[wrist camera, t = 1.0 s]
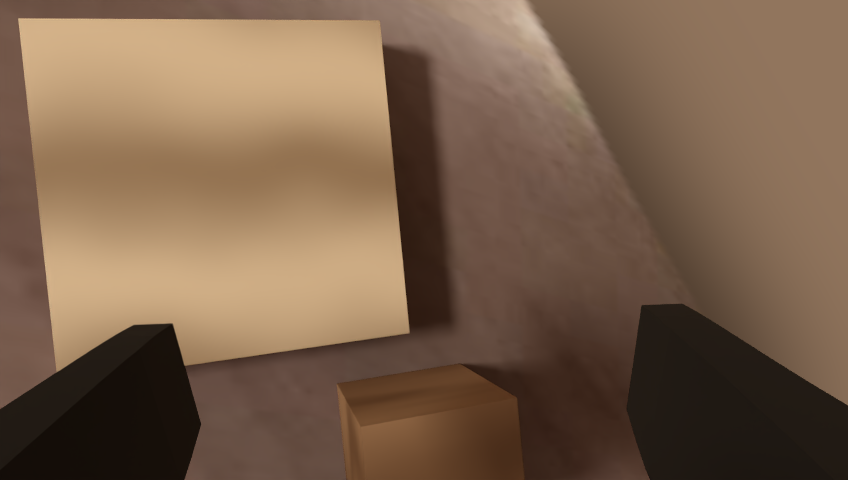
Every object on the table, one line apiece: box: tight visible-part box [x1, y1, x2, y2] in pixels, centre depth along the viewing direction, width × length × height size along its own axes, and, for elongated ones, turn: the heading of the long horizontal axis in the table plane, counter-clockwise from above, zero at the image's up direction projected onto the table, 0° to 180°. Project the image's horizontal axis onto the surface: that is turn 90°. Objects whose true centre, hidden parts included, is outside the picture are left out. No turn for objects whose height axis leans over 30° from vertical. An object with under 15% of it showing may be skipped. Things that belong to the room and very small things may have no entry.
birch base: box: [18, 18, 410, 372], centre depth 18 cm, size 10×10×2 cm
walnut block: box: [337, 364, 525, 480], centre depth 18 cm, size 4×4×5 cm
